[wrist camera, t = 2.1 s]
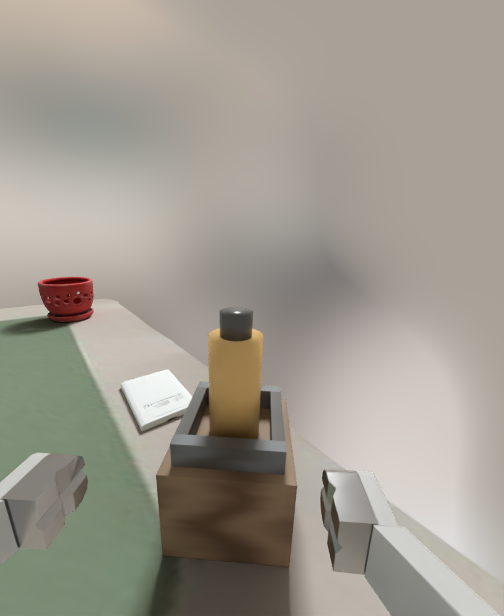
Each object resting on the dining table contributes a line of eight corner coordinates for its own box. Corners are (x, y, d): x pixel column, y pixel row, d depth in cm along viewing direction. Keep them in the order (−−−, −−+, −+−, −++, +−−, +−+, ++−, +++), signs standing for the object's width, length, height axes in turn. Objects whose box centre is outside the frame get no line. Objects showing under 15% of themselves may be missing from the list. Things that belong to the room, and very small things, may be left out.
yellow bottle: (204, 446, 20) (201, 318, 18) (214, 411, 25) (214, 303, 22) (258, 450, 20) (264, 321, 17) (259, 414, 24) (264, 305, 22)
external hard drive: (169, 376, 47) (199, 411, 38) (121, 391, 42) (141, 435, 33) (168, 368, 47) (198, 402, 37) (120, 382, 42) (140, 425, 32)
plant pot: (37, 318, 75) (30, 279, 72) (85, 310, 86) (80, 275, 83) (55, 328, 68) (47, 284, 65) (104, 317, 79) (100, 279, 76)
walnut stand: (162, 555, 20) (154, 452, 17) (196, 453, 29) (194, 377, 27) (288, 566, 19) (299, 462, 17) (281, 459, 29) (287, 382, 26)
